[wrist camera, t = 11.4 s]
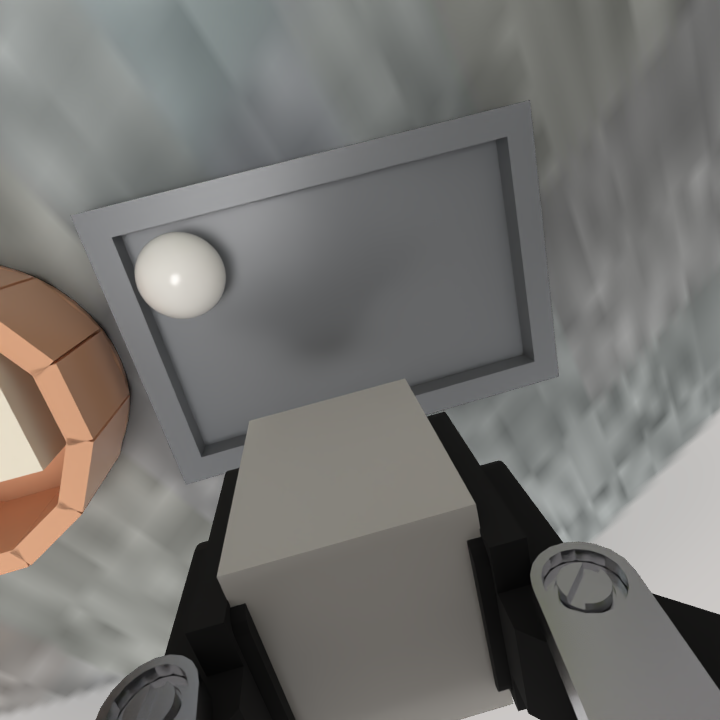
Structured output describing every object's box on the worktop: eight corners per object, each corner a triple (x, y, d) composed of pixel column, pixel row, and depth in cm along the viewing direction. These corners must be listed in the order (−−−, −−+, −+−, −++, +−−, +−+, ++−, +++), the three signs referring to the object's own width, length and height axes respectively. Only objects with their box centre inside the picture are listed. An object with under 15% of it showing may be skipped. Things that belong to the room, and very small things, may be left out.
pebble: (214, 220, 18) (202, 224, 15) (240, 297, 19) (232, 314, 16) (134, 240, 18) (106, 248, 15) (164, 317, 19) (144, 338, 16)
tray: (511, 107, 19) (530, 99, 17) (541, 365, 22) (558, 376, 21) (86, 214, 18) (69, 215, 16) (192, 465, 21) (185, 484, 20)
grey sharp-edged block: (405, 378, 11) (476, 504, 6) (437, 522, 12) (513, 704, 8) (249, 421, 10) (216, 577, 6) (300, 561, 12) (302, 766, 8)
